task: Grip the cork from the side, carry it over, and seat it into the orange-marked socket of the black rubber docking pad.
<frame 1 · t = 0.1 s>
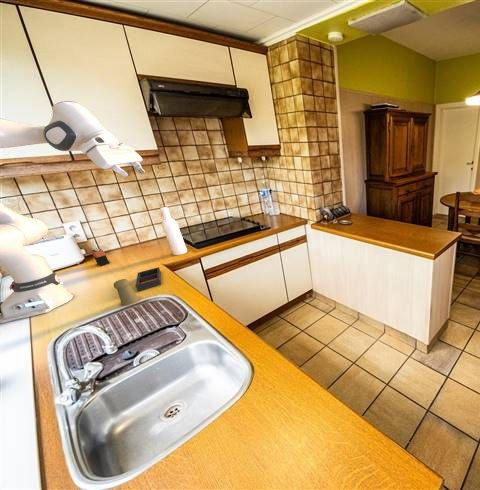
hand: (135, 174, 107), 54 cm above the worktop, tool tilted 30°, fingers open, 8 cm apart
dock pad: (150, 281, 137), on the worktop
battery: (103, 264, 162), on the worktop
cork: (130, 301, 120), on the worktop
bottle: (180, 253, 171), on the worktop
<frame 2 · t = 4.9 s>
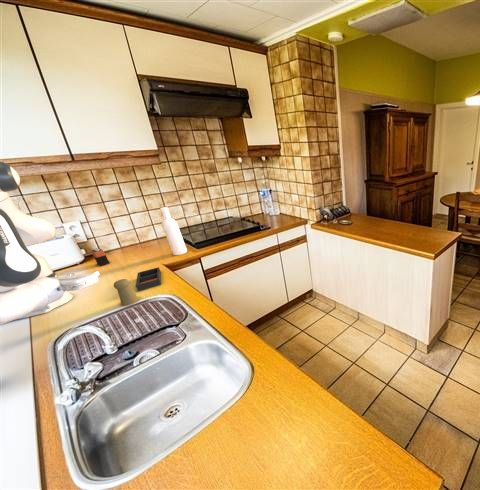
hand: (85, 274, 102), 20 cm above the worktop, tool horizontal, fingers open, 8 cm apart
nothing on the worktop moved.
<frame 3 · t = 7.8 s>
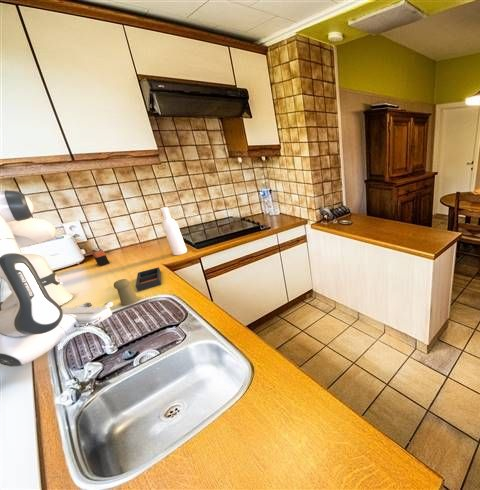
hand: (100, 303, 108), 7 cm above the worktop, tool horizontal, fingers open, 8 cm apart
nothing on the worktop moved.
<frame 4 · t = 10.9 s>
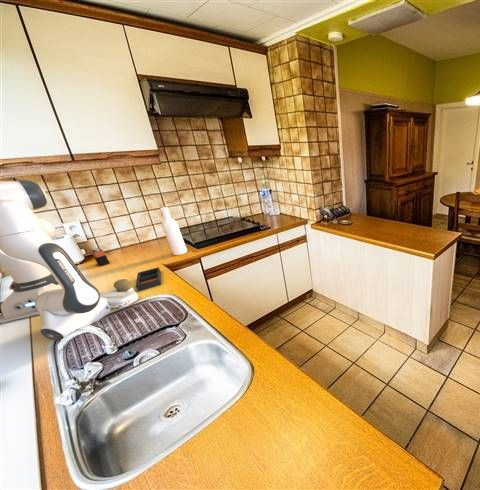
hand: (126, 289, 119), 6 cm above the worktop, tool horizontal, fingers closed on cork, 4 cm apart
cork: (130, 301, 120), on the worktop, touching gripper
everything else where it was.
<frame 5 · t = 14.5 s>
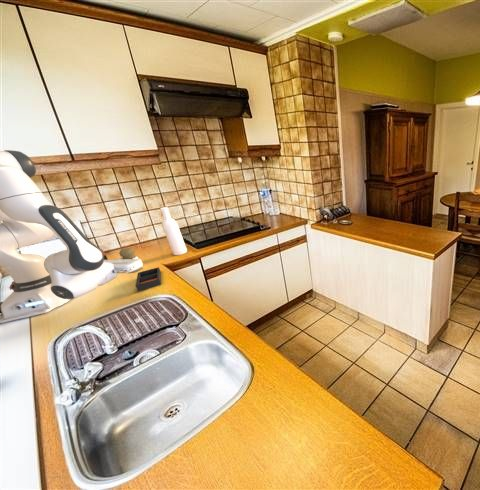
hand: (131, 258, 124), 17 cm above the worktop, tool horizontal, fingers closed on cork, 4 cm apart
cork: (135, 270, 125), point 11 cm above the worktop, touching gripper
everything else where it was.
when the fingers open (7 cm above the worktop, at t = 18.3 s): cork stays where it is, resting on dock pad.
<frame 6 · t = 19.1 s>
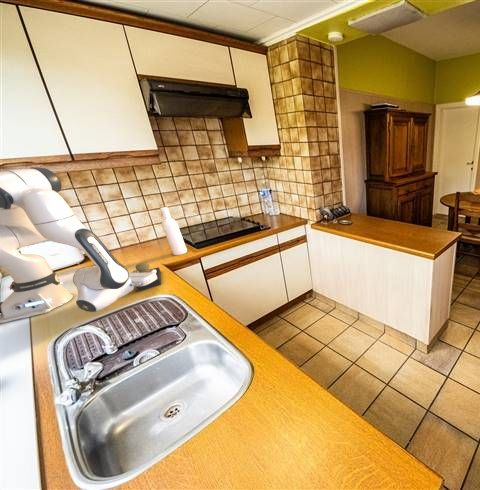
hand: (145, 270, 132), 7 cm above the worktop, tool horizontal, fingers open, 8 cm apart
cork: (149, 283, 134), point 1 cm above the worktop, touching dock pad
everything else where it was.
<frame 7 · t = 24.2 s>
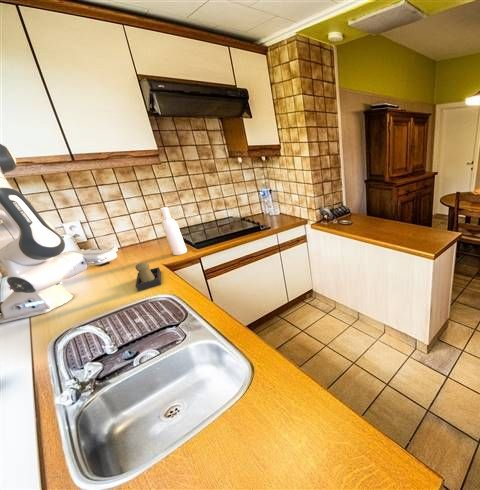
hand: (105, 249, 114), 25 cm above the worktop, tool horizontal, fingers open, 8 cm apart
nothing on the worktop moved.
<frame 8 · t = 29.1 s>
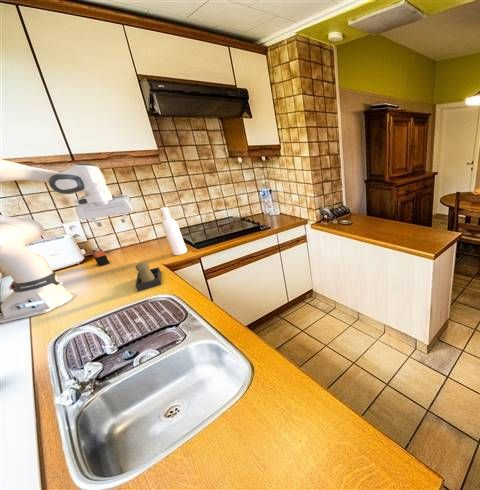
hand: (112, 224, 134), 29 cm above the worktop, tool pointing down, fingers open, 8 cm apart
nothing on the worktop moved.
at the end: cork 0.2 cm from the target spot in the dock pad, point 0.6 cm above the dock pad's base; cork tilted 0°; the gripper is holding nothing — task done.
